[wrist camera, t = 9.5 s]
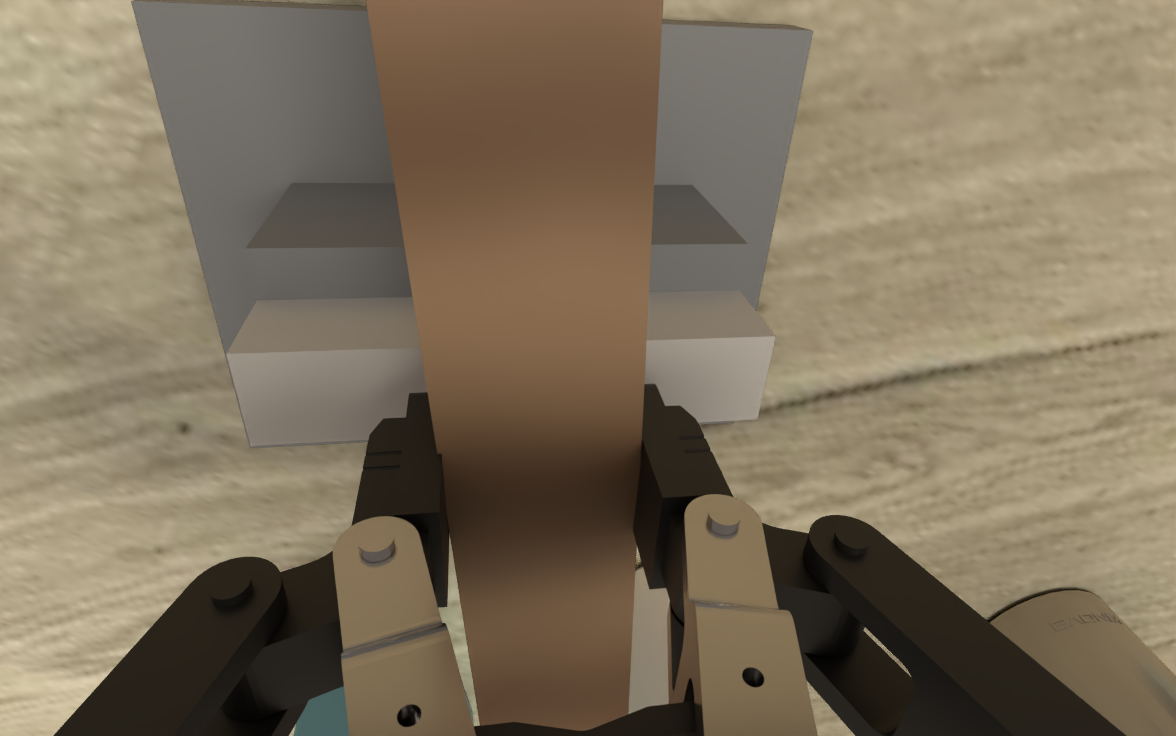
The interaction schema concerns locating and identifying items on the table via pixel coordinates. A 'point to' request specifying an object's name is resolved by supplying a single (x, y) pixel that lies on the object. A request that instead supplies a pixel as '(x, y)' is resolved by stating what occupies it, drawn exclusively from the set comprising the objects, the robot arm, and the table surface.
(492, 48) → the walnut bar
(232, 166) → the stand
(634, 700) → the can
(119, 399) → the table surface
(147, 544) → the table surface
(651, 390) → the robot arm
